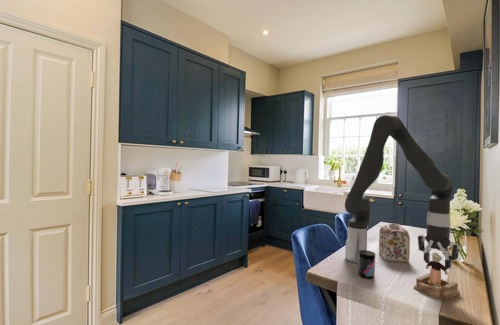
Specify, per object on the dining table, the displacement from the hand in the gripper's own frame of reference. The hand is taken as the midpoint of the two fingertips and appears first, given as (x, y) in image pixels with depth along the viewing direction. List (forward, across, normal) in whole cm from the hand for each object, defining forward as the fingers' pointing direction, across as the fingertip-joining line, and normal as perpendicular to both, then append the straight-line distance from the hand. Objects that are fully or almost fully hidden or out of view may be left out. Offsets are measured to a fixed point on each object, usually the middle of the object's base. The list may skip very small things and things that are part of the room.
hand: (436, 265), depth 104 cm
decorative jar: (+10, -29, +20) cm, 37 cm away
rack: (+10, 0, 0) cm, 10 cm away
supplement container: (+10, -22, -13) cm, 27 cm away
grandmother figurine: (+8, 0, 0) cm, 8 cm away
